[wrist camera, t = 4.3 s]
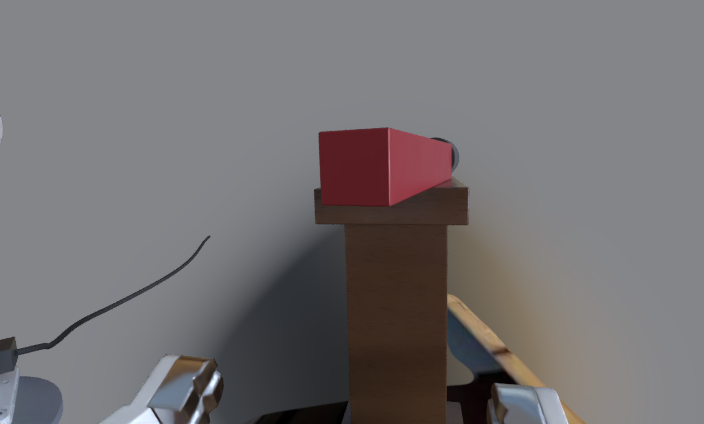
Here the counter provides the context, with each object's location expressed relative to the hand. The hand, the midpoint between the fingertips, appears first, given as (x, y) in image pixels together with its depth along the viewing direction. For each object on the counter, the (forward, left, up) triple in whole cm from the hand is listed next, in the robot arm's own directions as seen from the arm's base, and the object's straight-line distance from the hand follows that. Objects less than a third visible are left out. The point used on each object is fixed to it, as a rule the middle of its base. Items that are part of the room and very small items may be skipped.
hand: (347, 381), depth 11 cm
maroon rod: (-11, +11, +5) cm, 16 cm away
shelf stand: (-16, +13, -21) cm, 30 cm away
